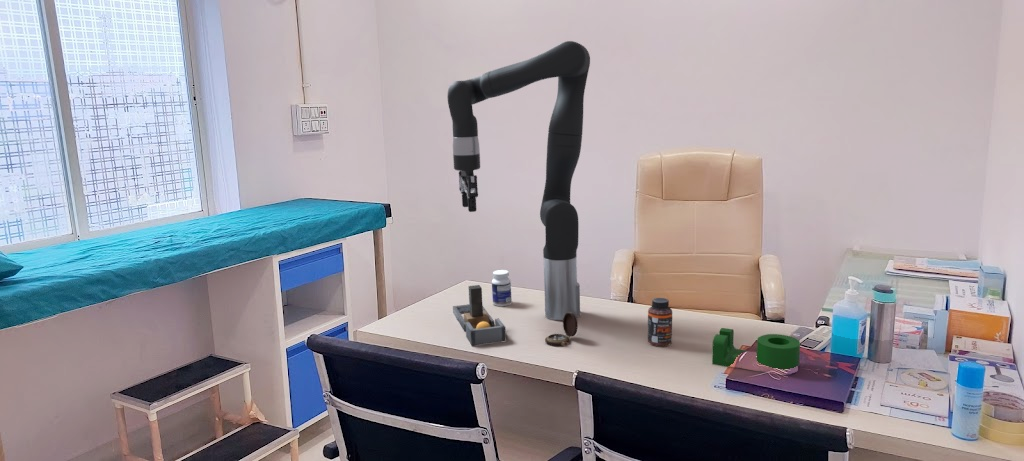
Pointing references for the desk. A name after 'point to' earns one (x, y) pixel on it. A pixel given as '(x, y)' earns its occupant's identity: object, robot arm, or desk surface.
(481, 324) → the ball
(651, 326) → the supplement bottle
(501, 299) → the pill bottle
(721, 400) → the desk surface
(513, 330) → the desk surface
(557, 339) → the compass
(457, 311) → the track
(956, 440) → the desk surface
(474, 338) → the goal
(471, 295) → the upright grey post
